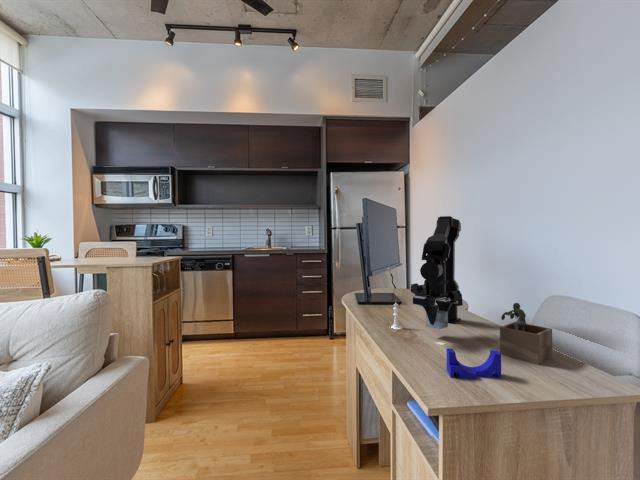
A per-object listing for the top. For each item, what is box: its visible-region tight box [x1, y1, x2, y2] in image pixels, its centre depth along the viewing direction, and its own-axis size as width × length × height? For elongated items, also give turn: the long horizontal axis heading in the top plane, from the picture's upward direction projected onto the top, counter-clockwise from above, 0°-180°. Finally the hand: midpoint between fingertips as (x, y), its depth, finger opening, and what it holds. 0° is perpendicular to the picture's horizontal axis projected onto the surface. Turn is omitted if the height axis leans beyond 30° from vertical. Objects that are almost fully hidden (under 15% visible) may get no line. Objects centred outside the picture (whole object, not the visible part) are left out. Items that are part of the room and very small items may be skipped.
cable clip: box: [446, 347, 502, 380], centre depth 82 cm, size 12×4×6 cm, turn 81°
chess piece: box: [390, 302, 403, 330], centre depth 123 cm, size 5×5×10 cm
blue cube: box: [425, 310, 449, 330], centre depth 111 cm, size 5×5×5 cm
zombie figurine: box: [500, 302, 528, 332], centre depth 99 cm, size 5×7×15 cm
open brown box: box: [499, 321, 553, 366], centre depth 95 cm, size 10×10×8 cm
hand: (436, 323), depth 111 cm, fingers closed on blue cube, 5 cm apart
